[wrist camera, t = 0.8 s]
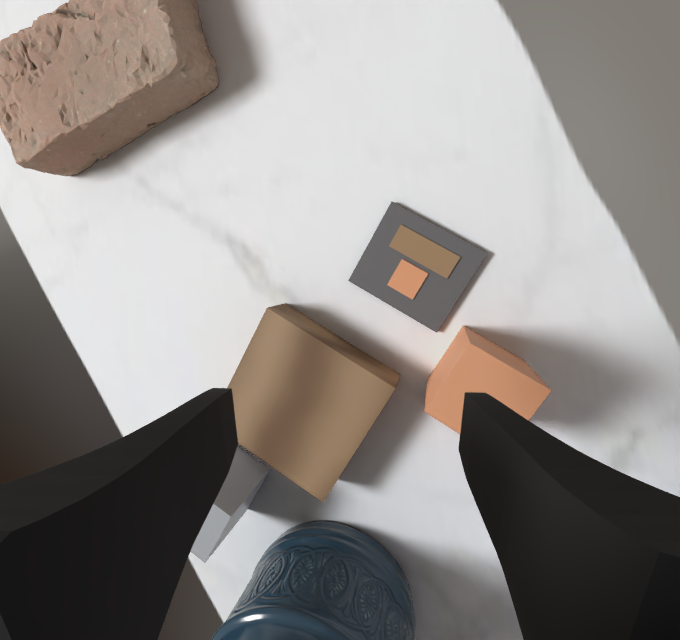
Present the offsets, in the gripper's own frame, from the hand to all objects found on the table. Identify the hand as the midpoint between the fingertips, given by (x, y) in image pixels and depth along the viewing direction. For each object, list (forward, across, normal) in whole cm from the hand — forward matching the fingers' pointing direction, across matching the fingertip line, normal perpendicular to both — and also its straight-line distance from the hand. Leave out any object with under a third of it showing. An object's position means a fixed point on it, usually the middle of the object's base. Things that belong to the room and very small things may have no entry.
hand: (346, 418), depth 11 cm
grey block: (+15, +10, +16) cm, 24 cm away
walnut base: (+16, +3, +8) cm, 18 cm away
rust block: (+13, -8, +5) cm, 16 cm away
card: (+15, -4, -2) cm, 16 cm away
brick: (+23, +18, -15) cm, 33 cm away
